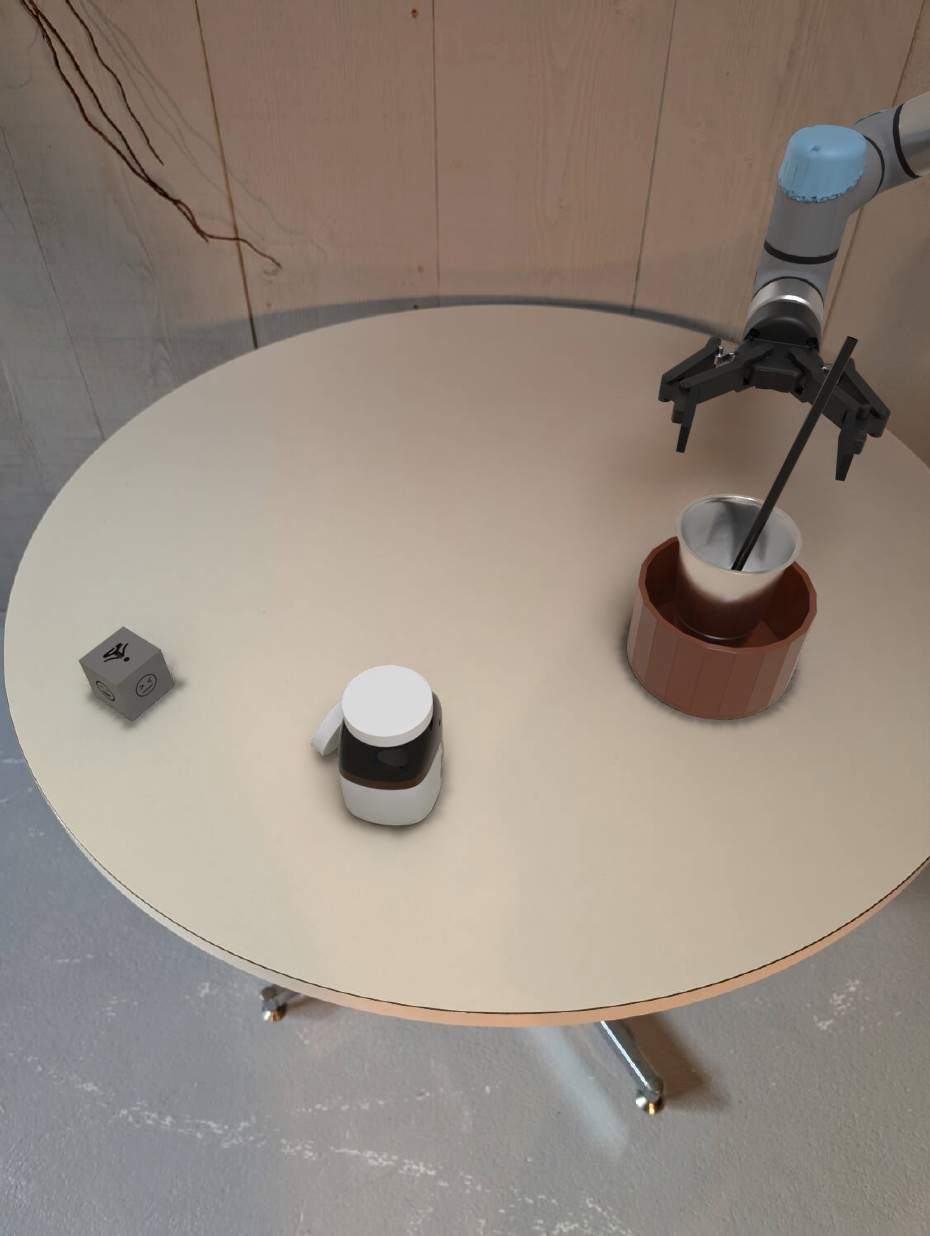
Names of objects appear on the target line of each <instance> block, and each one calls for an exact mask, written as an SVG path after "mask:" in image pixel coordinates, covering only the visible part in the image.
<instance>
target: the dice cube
mask: <svg viewBox="0 0 930 1236" xmlns="http://www.w3.org/2000/svg"><path fill="white" fill-rule="evenodd" d="M78 663H79V665H80V667H81V669H82V671H83V673H84V675H85V678H86V679H87V682H88V683H89V685H90V688H91V690H92V693H93V695H94V696H95V697H96V698H97V699H99V700H100V701H102V702H103V703H104V704H107V706H109V707H111V708H113V709H114V710H115V711H116V712H118V713H119V714H121V715H122V716H124V717H125V718H127V719H128V720H130V721H131V722H134V721H135V719H137V718H138V717H139V716H141V714H143V713H144V712H145V711H146V710H147V709H149V708H150V707H151V706H152V705H154V704H155V703H156V702H157V701H158V700H160V698H162V697H163V696H164V695H166V694H167V693H168V692H169V691H170V690H171V689H172V688H174V687H175V683H174V680H173V678H172V674H171V672H170V669H169V667H168V664H167V662H166V659H165V657H164V654H163V651H162V649H161V648H159V647H158V646H156V645H155V644H153V643H151V642H149V641H148V640H146V639H145V638H143V637H142V636H140V635H139V634H137V633H135V632H133V631H132V630H131V629H129V628H127V627H125V626H124V625H123V626H121V627H120V628H119V629H117V630H116V631H114V632H113V633H112V634H111V635H110V636H108V637H107V638H106V639H104V640H102V642H100V643H99V644H98V645H96V646H95V647H94V648H93V649H91V650H90V651H88V652H87V653H86V654H85V655H83V656H81V658H80V659H78Z"/></svg>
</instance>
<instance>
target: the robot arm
mask: <svg viewBox="0 0 930 1236" xmlns="http://www.w3.org/2000/svg"><path fill="white" fill-rule="evenodd" d="M777 173H778V174H777V184H776V187H775V193H774V198H773V203H772V208H771V212H770V216H769V220H768V225H767V229H766V235H765V238H764V241H763V245H762V249H761V254H760V258H759V262H758V264H757V266H756V273H755V276H754V278H753V284H752V285H753V287H752V288H753V289H752V294H751V299H750V304H749V306H748V310H747V314H746V319H745V324H744V329H743V332H742V337H741V341H740V344H739V345H737V346H736V347H735V348H734V347H733V348H732V347H728V346H724V345H723V344H722V338H720V337H718V336H711V337H710V338H708V340H707V342H706V344H705V345H704V347H702V348H700V349H699V350H697V351H696V352H694V353H693V354H691V355H690V356H689V357H687V358H686V359H684V360H682V361H680V362H679V363H678V364H676V365H674V366H673V367H672V368H670V369H668V370H667V371H665V372H664V373H662V374H661V378H660V383H659V389H658V395H657V400H658V401H659V402H661V403H669V402H673V405H672V411H671V417H670V421H671V423H673V424H677V425H680V428H679V432H678V439H677V444H676V448H675V452H676V453H681V454H685V453H686V450H687V449H686V448H687V444H688V441H689V438H690V437H689V436H690V433H691V430H692V426H693V422H694V418H695V414H696V410H697V405H700V404H702V403H705V402H707V401H710V400H712V399H715V398H717V397H720V396H723V395H725V394H727V393H730V392H733V391H734V392H736V393H740V392H743V391H747V390H748V389H751V388H753V387H754V388H755V389H758V390H772V391H775V392H778V393H783V394H790V395H792V397H794V398H795V399H797V400H798V401H799V402H800V403H802V404H805V403H808V404H810V405H811V406H812V405H813V403H814V401H815V399H816V397H817V395H818V393H819V391H820V389H821V387H822V385H823V383H824V381H825V379H826V377H827V375H828V373H829V371H830V369H831V367H832V365H833V363H834V362H825V361H824V359H823V357H822V356H821V355H820V351H821V343H822V333H823V322H824V314H825V303H826V297H827V293H828V291H827V290H828V287H829V284H830V281H831V278H832V274H833V271H834V267H835V264H836V261H837V257H838V255H839V252H840V251H839V250H840V247H841V245H842V240H843V237H844V233H845V230H846V227H847V223H848V220H849V218H850V216H851V215H854V213H856V211H858V210H860V209H861V208H862V207H864V206H865V205H866V204H868V203H869V202H871V200H873V199H875V197H877V196H878V195H880V194H883V193H884V192H887V191H888V190H891V189H894V188H897V187H900V186H902V185H905V184H908V183H910V182H912V181H915V180H917V179H919V178H922V177H924V176H926V175H929V174H930V90H928V91H926V92H924V93H922V94H920V95H917V96H914V97H913V98H910V99H909V100H907V101H906V102H903V103H901V104H898V105H895V106H893V107H891V108H887V109H883V110H879V111H874V112H873V113H870V114H867V115H866V116H864V117H862V118H860V119H858V120H857V121H855V122H854V123H853V124H852V125H851V126H850V127H845V126H840V125H834V124H815V125H814V126H806V127H803V128H801V129H799V130H797V131H796V132H795V133H793V134H792V136H791V137H790V139H789V141H788V143H787V146H786V150H785V153H784V157H783V159H782V162H781V164H780V165H779V170H778V172H777ZM891 413H892V412H891V410H890V408H888V406H887V405H886V404H885V403H884V401H882V399H881V398H880V397H879V395H878V394H877V393H876V392H875V391H874V390H873V388H872V387H871V386H870V385H869V383H868V382H867V381H866V380H865V379H864V377H863V376H862V375H861V374H860V373H859V371H857V369H856V363H855V359H854V358H853V357H851V356H850V358H849V360H848V362H847V364H846V366H845V368H844V370H843V372H842V374H841V376H840V378H839V380H838V382H837V384H836V386H835V388H834V390H833V392H832V394H831V396H830V398H829V400H828V402H827V404H826V406H825V408H824V410H823V412H822V413H821V415H822V416H824V417H825V418H826V419H827V420H829V422H831V423H832V424H834V426H836V427H837V428H838V429H839V430H840V431H839V433H838V437H837V450H836V464H835V475H834V477H835V478H834V481H839V482H845V481H846V478H847V476H848V473H849V470H850V467H851V464H852V461H853V459H854V457H855V455H857V456H860V455H861V454H862V452H863V450H864V447H865V445H866V442H867V439H868V436H869V437H871V438H876V439H879V438H881V437H882V436H883V434H884V431H885V429H886V426H887V423H888V421H889V418H890V416H891Z"/></svg>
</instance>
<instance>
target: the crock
mask: <svg viewBox="0 0 930 1236" xmlns="http://www.w3.org/2000/svg"><path fill="white" fill-rule="evenodd" d="M678 554H679V540H678V537H677V535H675V536H672V537H669V538H668V539H666V540H665V541H663V542H662V543H660V544H658V545H657V546H655V547H654V548H652V549H651V550H650V552H649V553H648V555H646V557H645V558H644V560H643V561H642V563H641V565H640V568H639V575H638V579H637V585H636V590H635V591H636V592H635V597H634V602H633V608H632V613H631V620H630V625H629V630H628V635H627V642H626V655H627V659H628V663H629V666H630V668H631V670H632V673H633V674H634V676H635V677H636V679H637V680H638V682H639V683H640V684H641V685H642V687H643V688H644V689H645V690H646V691H648V693H649V694H651V695H652V696H653V697H655V698H656V699H657V700H658V701H660V702H662V703H663V704H665V705H667V707H670V708H672V709H675V710H677V711H679V712H682V713H684V714H686V715H691V716H694V717H698V718H703V719H708V720H709V719H710V720H737V719H741V718H746V717H750V716H753V715H756V714H758V713H761V712H763V711H765V710H766V709H769V708H770V707H772V706H773V705H774V704H775V703H777V701H779V699H780V698H781V697H782V696H783V694H784V693H785V691H786V690H787V689H788V686H789V683H790V681H791V679H792V678H793V675H794V672H795V669H796V667H797V665H798V662H799V660H800V657H801V654H802V652H803V649H804V647H805V644H806V641H807V639H808V637H809V635H810V632H811V629H812V626H813V624H814V621H815V618H816V616H817V613H818V593H817V591H816V589H815V586H814V584H813V582H812V580H811V578H810V576H809V574H808V572H807V571H805V569H804V568H803V567H802V566H801V565H800V564H799V563H798V562H797V560H795V561H794V562H793V563H792V564H791V565H789V566H788V567H787V568H786V570H785V572H784V574H783V576H782V578H781V580H780V582H779V584H778V586H777V588H776V590H775V592H774V594H773V596H772V599H771V601H770V603H769V605H768V607H767V609H766V611H765V613H764V615H763V617H762V619H761V621H760V623H759V625H758V626H757V627H756V629H755V631H754V633H753V636H752V638H751V640H750V642H749V644H748V646H747V648H732V647H727V646H721V645H715V644H710V643H706V642H704V641H701V640H699V639H697V638H694V637H692V636H689V635H687V634H685V633H683V632H681V631H680V630H678V629H677V628H676V627H674V626H673V619H674V610H675V604H674V599H675V588H676V577H677V565H678Z"/></svg>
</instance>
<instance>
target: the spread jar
mask: <svg viewBox="0 0 930 1236" xmlns="http://www.w3.org/2000/svg"><path fill="white" fill-rule="evenodd" d="M443 722H444V719H443V709H442V704H441V700H440V698H439V696H438V695H437V694H436V693H435V692H434V691H433V690H432V688H431V686H430V683H428V682H427V680H426V679H425V678H424V677H423V676H422V675H421V674H420V673H419V672H416V670H414V669H411V668H408V667H406V666H402V665H395V664H394V665H393V664H387V665H386V664H385V665H378V666H374V667H370V668H368V669H366V670H364V671H361V672H360V673H359V674H357V675H356V676H354V678H353V679H351V680H350V681H349V682H348V683H347V685H346V686H345V688H344V690H343V692H342V697H341V698H340V700H338V702H337V703H336V704H335V705H334V706H333V707H332V709H331V710H330V711H329V712H328V714H327V715H326V716H325V717H324V719H323V720H322V722H321V723H320V724H319V726H318V728H317V729H316V731H315V733H314V734H313V737H312V738H311V741H310V746H311V748H313V749H314V750H316V751H317V752H318V753H319V754H320V755H322V756H323V757H325V756H328V755H330V754H331V753H333V752H334V751H335V750H337V765H338V776H339V777H338V778H339V780H340V781H339V783H340V787H341V792H342V796H343V800H344V804H345V807H346V808H347V810H348V811H349V812H350V813H351V814H352V815H353V816H355V817H357V818H359V819H361V820H364V821H366V822H369V823H373V824H375V825H381V826H387V827H388V826H389V827H403V826H410V825H414V824H418V823H420V822H422V821H424V820H425V819H426V818H427V817H428V816H429V814H430V813H431V811H432V809H433V808H434V806H435V804H436V802H437V800H438V798H439V794H440V791H441V786H442V782H443V773H444V751H445V750H444V748H445V747H444V745H445V744H444V724H443Z"/></svg>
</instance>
